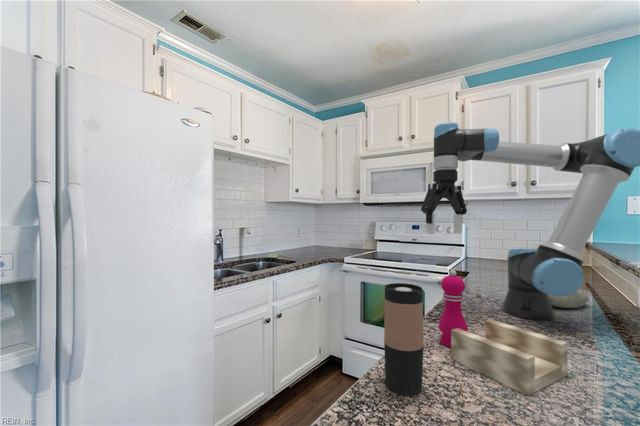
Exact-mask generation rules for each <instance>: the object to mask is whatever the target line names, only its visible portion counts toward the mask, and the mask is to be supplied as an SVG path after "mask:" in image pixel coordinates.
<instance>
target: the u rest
mask: <svg viewBox="0 0 640 426" xmlns="http://www.w3.org/2000/svg"><path fill="white" fill-rule="evenodd" d="M484 335H485V336H484V337H483V336H480V335H478V334H474V333H472V332H469V331H468V332H467V331H464V330H461V329H459V328H457V329H453V330H451V348H450V352H451V353H450V356H451V357H450V358H451V360H452V361H455V362H456V363H459V364H461V365H463V366H465V367H467V368H469V369H471V370H473V371H475V372H477V373H480V374H481V375H484V376H486V377H488V378H490V379H492V380H494V381H495V382H498V383H501V384H502V385H504V386H507V387H508V388H511V389H512V390H515V391H517V392H520V393H521V394H523V395H524V396H525V395H526V396H528V397H529V396H531V395H533V394H535V393H536V392H538V391H540V390H542V389H543V388H545V387H547V386H549V385H552V384H553V383H555V382H557V381H559V380H561V379H562V378H563V379H564V378H565V377H566V376H568V368H569V367H568V342H566V341H564V340H560V339H556V338H553V337H550V336H547V335H544V334H540V333H537V332H534V331H530V330H527V329H523V328H520V327H517V326H514V325H510V324H507V323H504V322H501V321H498V320H494V319H492V318H491V319H487V320H485V321H484Z"/></svg>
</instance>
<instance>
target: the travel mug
mask: <svg viewBox="0 0 640 426" xmlns="http://www.w3.org/2000/svg"><path fill="white" fill-rule="evenodd" d="M423 291H424V289H423V287H421V286H419V285H417V284H413V283H412V284H411V283H404V282H402V283H400V282H394V283H387V284H386V285H384V319H383V320H384V326H383V328H384V331H383V332H384V333H383V339H384V341H383V343H384V346H383V347H384V370H385V371H384V373H385V376H384V377H385V385H386V387H387V388H388V389H389V391H391V392H392V393H394V394H397V395H400V396H407V397H410V396H411V397H412V396H417V395H419V394H420V393H421V392H422V389H423V368H424V367H423V365H424V362H423V361H424V304H423V303H424V302H423V301H424V299H423V298H424V297H423V296H424V295H423Z"/></svg>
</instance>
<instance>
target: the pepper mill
mask: <svg viewBox="0 0 640 426" xmlns="http://www.w3.org/2000/svg"><path fill="white" fill-rule="evenodd" d="M448 274H449V275H446V276H445V277H442V279H441V281H440V286H441V289H442V298H443V299H444V309H443V312H442V314H441V316H440V319H439V321H438V330H439V331H440V333H441V335H440V343H441V344H442V346H444V347H446V348H450V349H451V330H453V329H457V328H459V329H461V330H464V331H467V332H469V328H468V324H467V321H466V318H465V317H464V315H463V312H462V302H463V301H464V295H463V293H464V291H465V290H466V284H465V283H466V282H465V281H464V280H463V279H462V278H461V277H460V276H457V272H456V270H454V269H451V270H449V273H448Z"/></svg>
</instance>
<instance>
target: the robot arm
mask: <svg viewBox="0 0 640 426" xmlns="http://www.w3.org/2000/svg"><path fill="white" fill-rule="evenodd" d="M433 129H434V130H433V131H434V133H433V170H434V171H433V174H432V175H433V176H432V179H433V181H432V182H434V183H428V186H427V191H426V194H425V197H424V201H423V203H422V206H421V208H420V211H421V212H422V214H425V223H426V234H428V235H435V234H436V213H434V212H435V210H436V209H437V207H438V205H439V203H440V202H441V201H442V200H443V199H447V200H448V201H449V204H450V206H451V207H452V210H453V212H454V214H453V234H458V235H459V234H462V233H463V215H466V213H467V212H468V210H467V205H466V203H465V199H464V195H463V193H462V186H461V185H455V184H456V182H458V180H459V177H458V175H459V174H458V170H457V169H458V168H459V162H466V161H467V162H468V161H480V162H481V161H482V162H490V163H491V162H492V163H502V164H514V165H521V166H522V165H523V166H533V167H534V166H536V167H543V168H545V167H546V168H552V169H553V170H554V171H559V172H568V173H574V174H575V173H576V174H582V177H581V178H580V180H579V182H578V184H577V186H576V187H575V190H574V191H573V193H572V195H571V197H570V198H569V201H568V203H567V205H566V207H565V208H564V210H563V212H562V214H561V216H560V218H559V220H558V222H557V224H556V225H555V228H554V229H553V231H552V233H551V235H550V237H549V239H548V240H547V242H544V243H540V244H539V245H538V248H511V249H509V250H508V253H507V280H508V281H507V282H508V283H507V284H508V285H507V287H508V289H507V292H506V294H505V295H506V296H505V298H504V301H503V303H502V311H503V312H505V313H506V314H508V315H511V316H514V317H518V318H523V319H527V320H536V321H547V320H548V321H550V320H553V319H555V310H554V308H553V307H552V306H553V305H551V302H550V299H549V297H548V294H549V295H553V296H567V295H570V294H573V293H574V292H576V291H577V292H578V291H579V289H581V287H582V285H583V283H584V273H583V270H582V266H583V264H584V258H583V257H582V255H581V254H582V252H583V250H584V248H585V246H586V245H587V243H588V241H589V239H590V237H591V235H592V233H593V231H594V230H595V227H596V226H597V225H598V222H599V220H600V219H601V216H602V215H603V213H604V212H605V210H606V207H607V206H608V204H609V202H610V200H611V198H612V196H613V195H614V192H615V190H616V188H617V187H618V186H619V184H620V183H623V182H626V181H628V180H629V179H630V177H631V175H632V173H633V171H634V170H635V168H636V167H640V129H636V128H634V127H633V128H631V127H629V128H628V127H627V128H626V127H625V128H620V129H615V130H612V131H610V132H608V133H606V134H603V135H601V136H600V135H599V136H597V137H594V138H592V139H588V140H585V141H581V142H576V143H575V142H574V143H573V142H572V143H568V142H567V143H566V142H562V143H560V144H559V145H555V144H554V145H552V144H540V143H527V142H526V143H525V142H515V141H501V140H500V132H499V131H498V130H497V129H496V128H486V127H485V128H472V129H471V128H467V129H462V128H461V129H460V127H459V123H457V122H451V121H448V122H447V121H445V122H441V123H439V124H437V125H436V126H435V127H434V128H433Z"/></svg>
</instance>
